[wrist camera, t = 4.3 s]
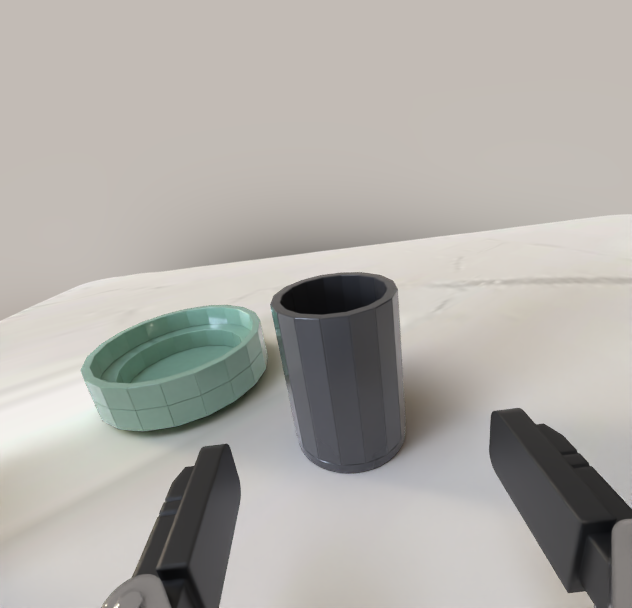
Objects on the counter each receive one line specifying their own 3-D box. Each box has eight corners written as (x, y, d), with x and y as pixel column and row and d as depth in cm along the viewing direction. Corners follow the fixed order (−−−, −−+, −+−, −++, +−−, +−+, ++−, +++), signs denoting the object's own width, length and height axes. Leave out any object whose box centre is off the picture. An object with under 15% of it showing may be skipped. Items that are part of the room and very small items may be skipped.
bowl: (251, 329, 38) (243, 294, 36) (287, 396, 26) (277, 347, 24) (114, 368, 34) (99, 330, 32) (84, 466, 22) (58, 414, 21)
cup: (371, 387, 25) (359, 265, 22) (428, 445, 20) (423, 293, 17) (285, 417, 24) (259, 290, 20) (321, 492, 18) (292, 332, 15)
